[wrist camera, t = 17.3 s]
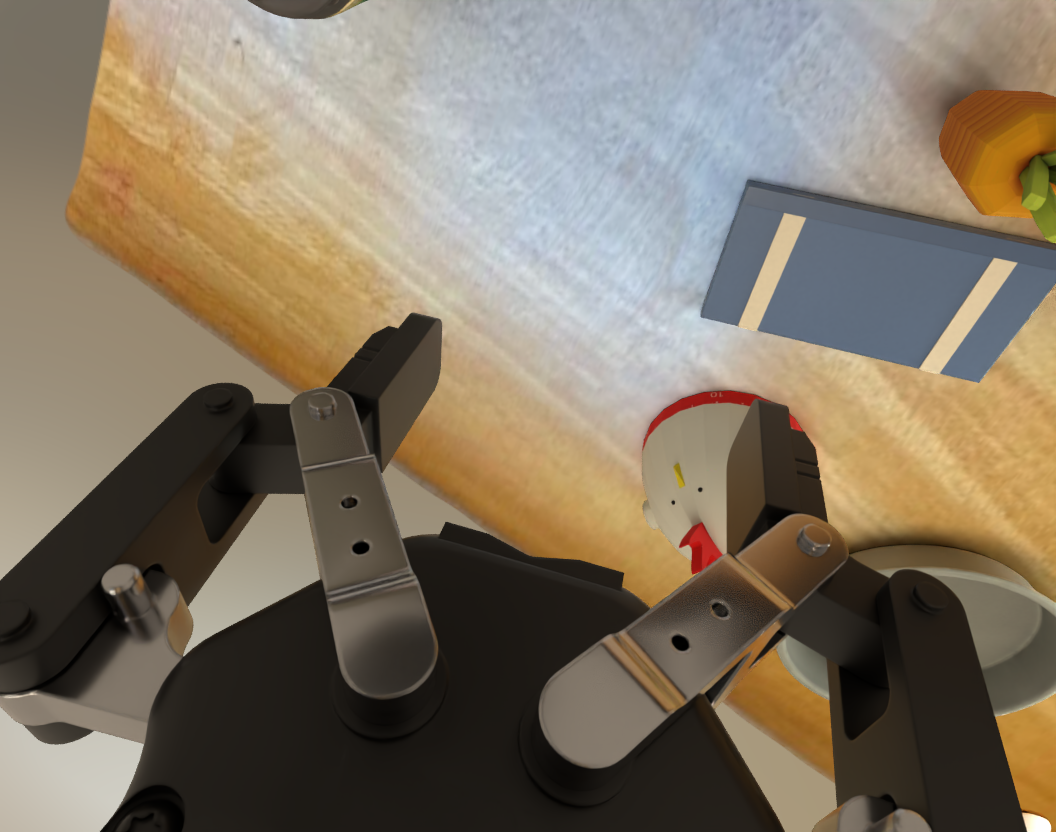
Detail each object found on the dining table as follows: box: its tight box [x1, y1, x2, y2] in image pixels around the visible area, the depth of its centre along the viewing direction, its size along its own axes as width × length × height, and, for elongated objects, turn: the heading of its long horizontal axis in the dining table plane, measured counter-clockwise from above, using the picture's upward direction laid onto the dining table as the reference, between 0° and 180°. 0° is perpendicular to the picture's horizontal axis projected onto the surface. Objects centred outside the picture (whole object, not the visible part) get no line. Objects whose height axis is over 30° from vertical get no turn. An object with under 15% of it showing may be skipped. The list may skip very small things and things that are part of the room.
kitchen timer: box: [642, 391, 803, 574], centre depth 48 cm, size 14×14×15 cm
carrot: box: [939, 90, 1056, 243], centre depth 29 cm, size 5×5×15 cm
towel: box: [701, 180, 1056, 383], centre depth 41 cm, size 10×20×1 cm, turn 83°
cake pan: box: [776, 545, 1056, 717], centre depth 58 cm, size 25×25×4 cm
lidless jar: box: [1022, 813, 1051, 832], centre depth 76 cm, size 5×3×5 cm
